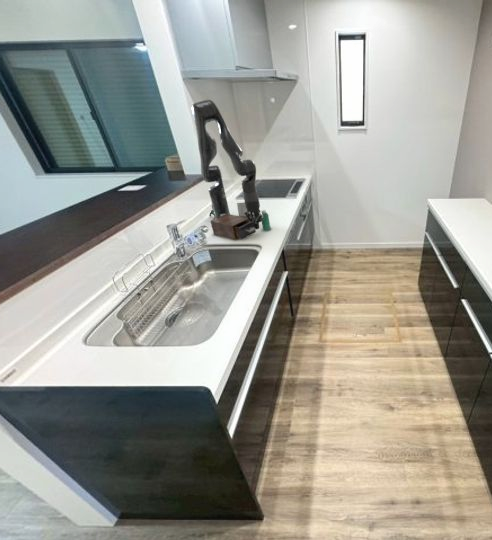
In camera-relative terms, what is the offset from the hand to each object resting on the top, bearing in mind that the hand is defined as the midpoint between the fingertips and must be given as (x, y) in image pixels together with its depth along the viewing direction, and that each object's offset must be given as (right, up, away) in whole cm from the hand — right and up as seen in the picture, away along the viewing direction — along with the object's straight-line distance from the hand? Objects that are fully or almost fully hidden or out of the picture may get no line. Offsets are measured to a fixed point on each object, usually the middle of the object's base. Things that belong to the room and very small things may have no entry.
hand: (257, 228), depth 169 cm
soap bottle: (+3, +1, +9) cm, 10 cm away
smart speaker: (-12, +7, +20) cm, 24 cm away
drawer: (-10, -3, +2) cm, 11 cm away
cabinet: (-16, -2, +5) cm, 17 cm away
